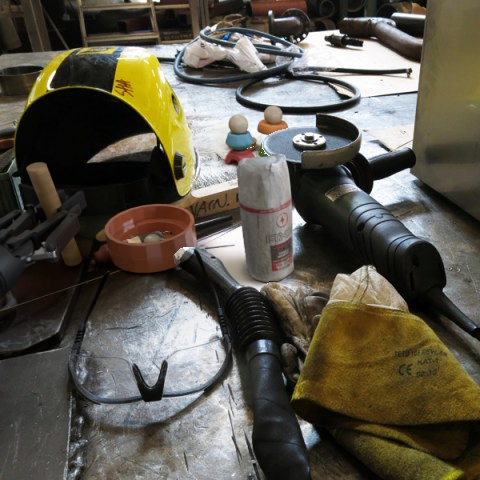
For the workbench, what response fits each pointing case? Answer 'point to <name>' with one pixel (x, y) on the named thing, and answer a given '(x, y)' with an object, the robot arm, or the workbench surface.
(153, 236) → the bead
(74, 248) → the stick
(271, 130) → the multicoloured wooden toy
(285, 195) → the spray can
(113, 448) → the workbench surface
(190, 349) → the workbench surface
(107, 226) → the bowl
